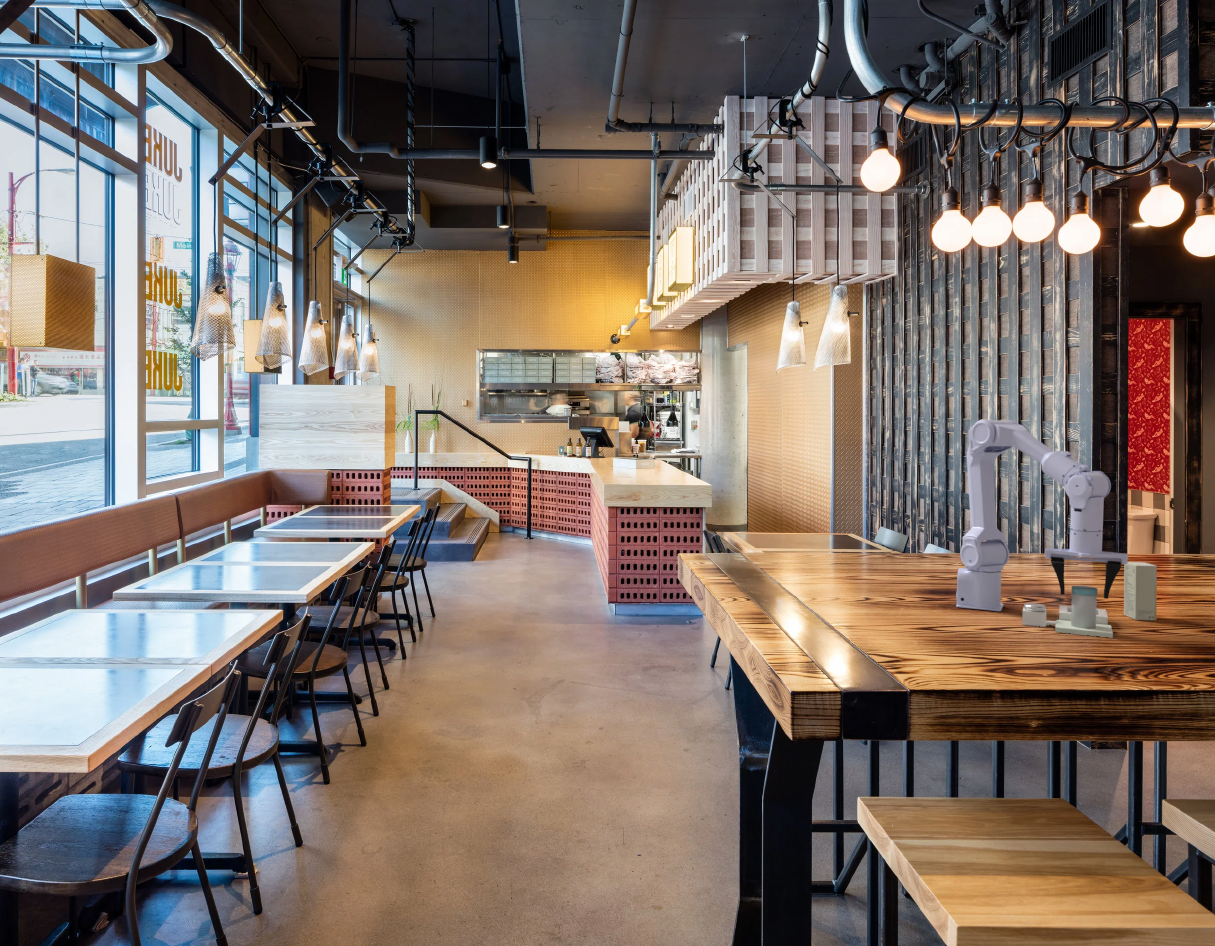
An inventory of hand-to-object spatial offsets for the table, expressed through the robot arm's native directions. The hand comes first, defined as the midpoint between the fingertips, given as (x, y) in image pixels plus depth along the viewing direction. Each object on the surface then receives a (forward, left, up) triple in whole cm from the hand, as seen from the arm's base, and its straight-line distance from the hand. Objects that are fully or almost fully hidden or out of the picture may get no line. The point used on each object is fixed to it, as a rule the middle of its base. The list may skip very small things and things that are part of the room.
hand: (1084, 595), depth 165 cm
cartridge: (0, 0, -6) cm, 6 cm away
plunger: (-9, +2, -7) cm, 11 cm away
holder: (-3, +7, -7) cm, 10 cm away
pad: (0, 0, -7) cm, 7 cm away
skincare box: (+11, +21, -8) cm, 25 cm away
